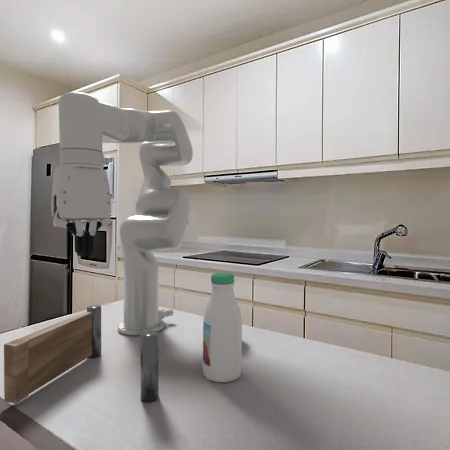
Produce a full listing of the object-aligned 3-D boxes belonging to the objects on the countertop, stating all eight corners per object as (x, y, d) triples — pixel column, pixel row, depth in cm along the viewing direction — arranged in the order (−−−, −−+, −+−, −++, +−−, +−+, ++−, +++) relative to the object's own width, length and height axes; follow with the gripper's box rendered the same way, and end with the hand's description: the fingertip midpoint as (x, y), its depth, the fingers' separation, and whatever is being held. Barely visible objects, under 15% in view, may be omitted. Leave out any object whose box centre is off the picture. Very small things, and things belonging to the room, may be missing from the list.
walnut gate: (93, 355, 71) (93, 312, 71) (16, 403, 52) (15, 345, 52) (84, 353, 71) (84, 311, 71) (4, 401, 53) (3, 344, 53)
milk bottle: (246, 368, 67) (246, 272, 67) (235, 386, 60) (235, 278, 59) (211, 362, 70) (211, 270, 69) (196, 379, 62) (196, 276, 62)
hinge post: (98, 351, 75) (97, 304, 75) (103, 355, 73) (103, 307, 73) (84, 355, 73) (84, 307, 73) (90, 359, 71) (89, 309, 70)
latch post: (152, 391, 58) (152, 330, 58) (161, 397, 56) (161, 334, 56) (137, 397, 56) (137, 334, 56) (146, 404, 54) (146, 339, 54)
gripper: (110, 166, 70) (111, 250, 71) (32, 159, 60) (36, 258, 61) (127, 163, 65) (128, 253, 66) (45, 154, 55) (49, 263, 56)
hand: (84, 255), depth 63 cm, fingers closed
